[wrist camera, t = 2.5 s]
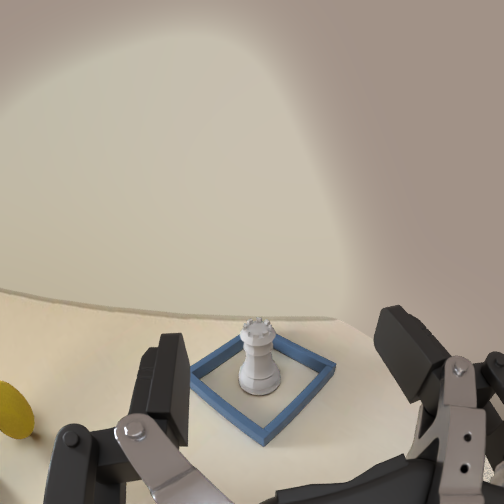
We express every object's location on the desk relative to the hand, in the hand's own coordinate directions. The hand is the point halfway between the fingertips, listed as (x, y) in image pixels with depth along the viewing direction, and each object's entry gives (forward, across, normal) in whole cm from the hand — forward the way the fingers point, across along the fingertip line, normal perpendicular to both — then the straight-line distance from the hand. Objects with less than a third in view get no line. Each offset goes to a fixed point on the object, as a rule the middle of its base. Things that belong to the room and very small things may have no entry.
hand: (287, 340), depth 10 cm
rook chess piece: (+11, 0, +16) cm, 20 cm away
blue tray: (+11, 0, +16) cm, 20 cm away
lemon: (+2, +26, +17) cm, 31 cm away
